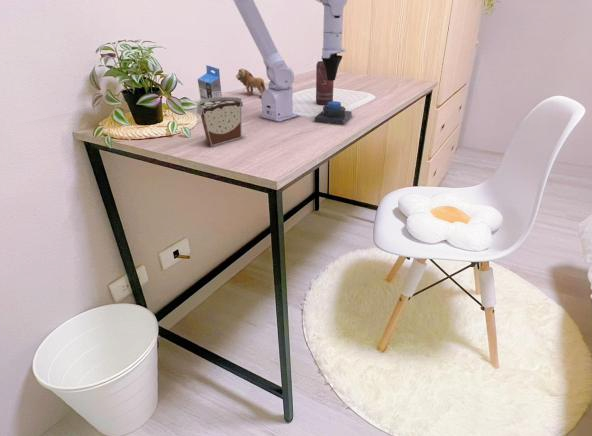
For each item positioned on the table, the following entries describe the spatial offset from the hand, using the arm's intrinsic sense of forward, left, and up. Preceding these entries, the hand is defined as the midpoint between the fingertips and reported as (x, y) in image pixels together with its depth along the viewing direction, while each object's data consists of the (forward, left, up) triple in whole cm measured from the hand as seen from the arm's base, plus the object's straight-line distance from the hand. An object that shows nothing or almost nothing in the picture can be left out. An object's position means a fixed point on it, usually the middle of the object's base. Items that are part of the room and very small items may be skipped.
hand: (331, 80), depth 117 cm
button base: (-5, -5, -10) cm, 13 cm away
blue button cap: (-5, -5, -7) cm, 10 cm away
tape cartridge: (-21, +34, -11) cm, 41 cm away
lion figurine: (0, +36, -11) cm, 37 cm away
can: (+9, +9, -11) cm, 17 cm away
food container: (-41, +6, -11) cm, 43 cm away
